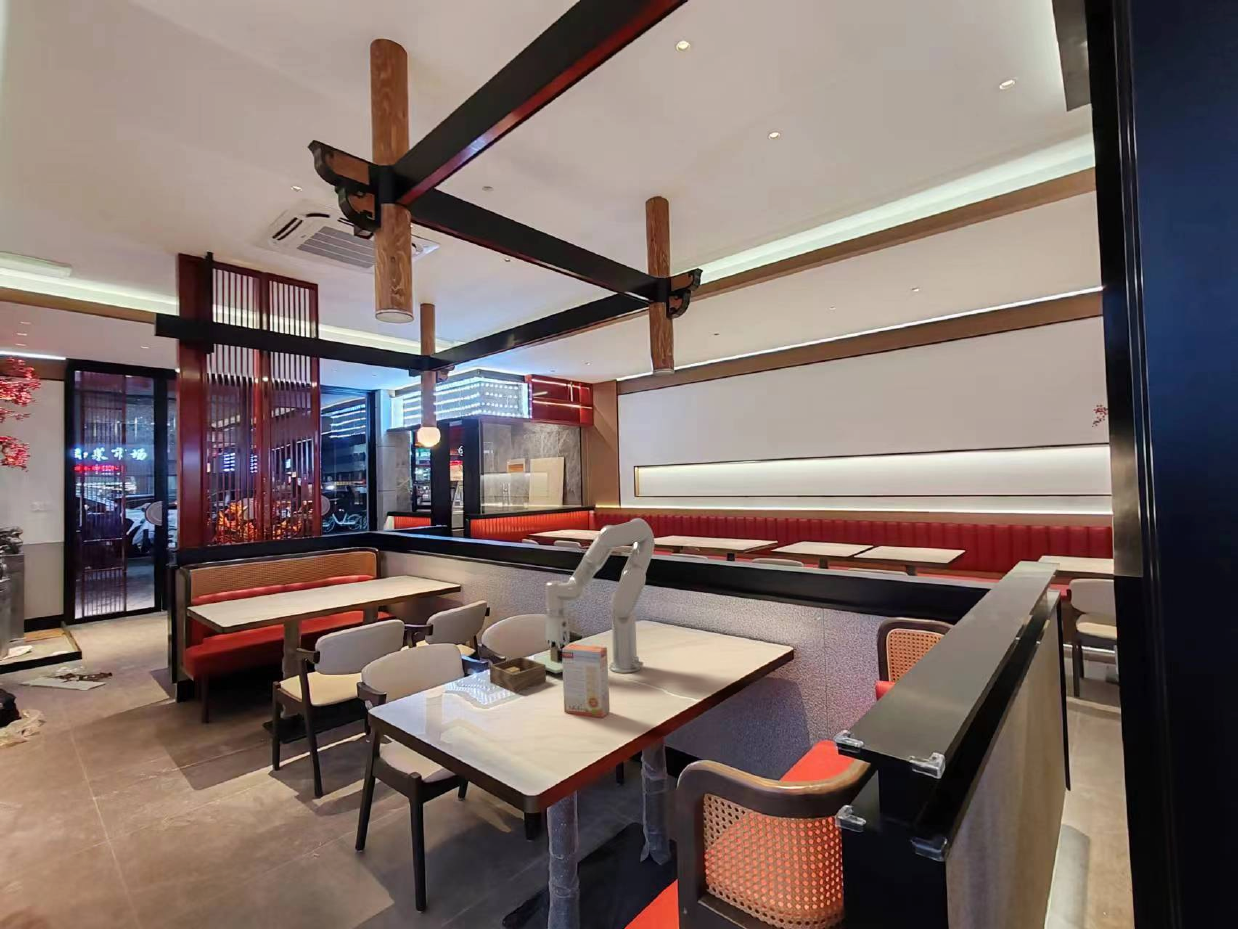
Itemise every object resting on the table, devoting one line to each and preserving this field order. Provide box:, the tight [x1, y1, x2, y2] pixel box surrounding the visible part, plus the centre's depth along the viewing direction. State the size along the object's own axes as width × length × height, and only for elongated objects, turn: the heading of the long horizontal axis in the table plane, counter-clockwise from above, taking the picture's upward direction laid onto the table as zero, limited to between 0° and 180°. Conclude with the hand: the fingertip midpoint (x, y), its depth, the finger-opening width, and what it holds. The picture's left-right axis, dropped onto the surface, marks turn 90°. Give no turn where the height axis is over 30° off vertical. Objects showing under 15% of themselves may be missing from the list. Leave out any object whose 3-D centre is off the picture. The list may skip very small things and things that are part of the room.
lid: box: [532, 645, 563, 674], centre depth 221 cm, size 18×16×7 cm
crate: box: [489, 656, 547, 694], centre depth 207 cm, size 16×14×7 cm
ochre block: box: [505, 667, 520, 674], centre depth 210 cm, size 4×4×4 cm
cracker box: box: [562, 643, 611, 719], centre depth 180 cm, size 14×6×21 cm, turn 65°
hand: (557, 658), depth 221 cm, fingers closed on lid, 3 cm apart
